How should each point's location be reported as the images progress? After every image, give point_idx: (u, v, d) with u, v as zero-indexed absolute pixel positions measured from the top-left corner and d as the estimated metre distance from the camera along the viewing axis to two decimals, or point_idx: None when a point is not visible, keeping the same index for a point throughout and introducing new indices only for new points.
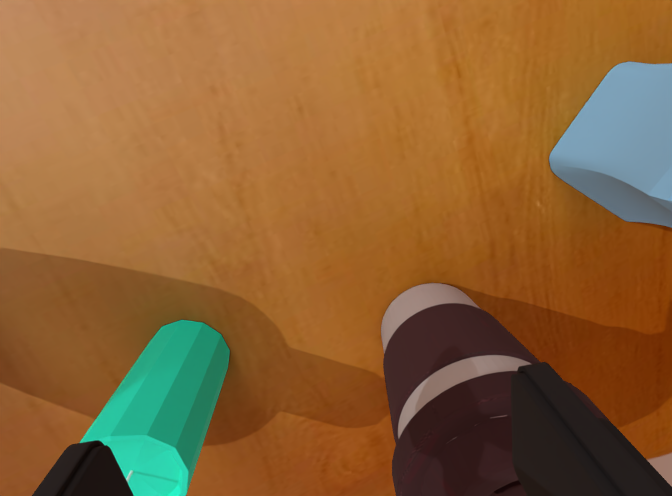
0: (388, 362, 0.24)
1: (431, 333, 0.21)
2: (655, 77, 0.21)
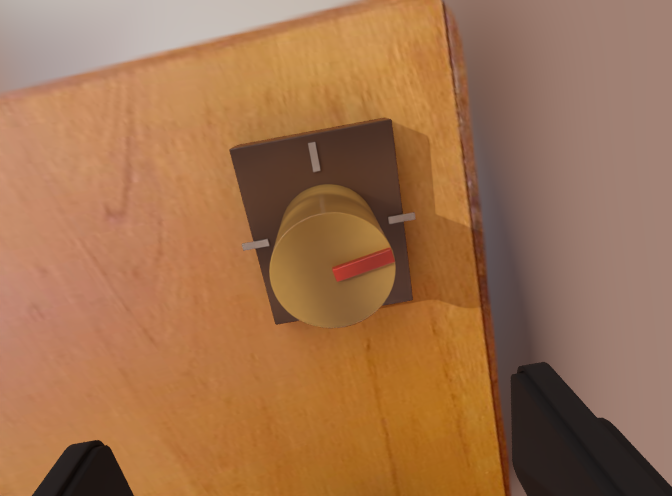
0: None
1: None
2: None
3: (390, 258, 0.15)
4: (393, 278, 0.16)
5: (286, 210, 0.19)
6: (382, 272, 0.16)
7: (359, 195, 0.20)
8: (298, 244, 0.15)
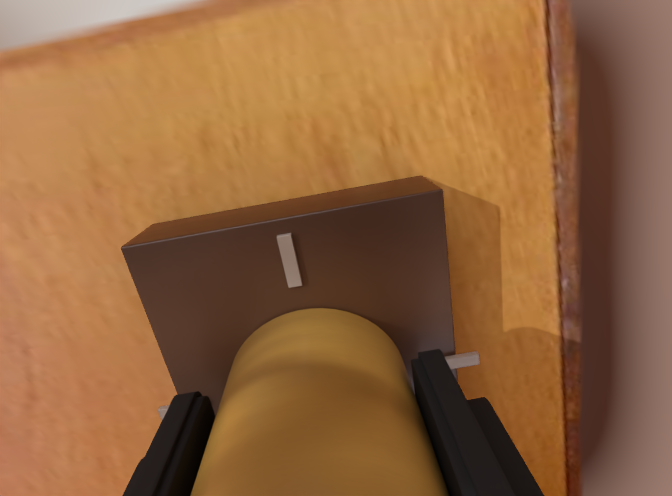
0: None
1: None
2: None
3: None
4: None
5: (235, 364, 0.10)
6: None
7: (377, 327, 0.10)
8: None
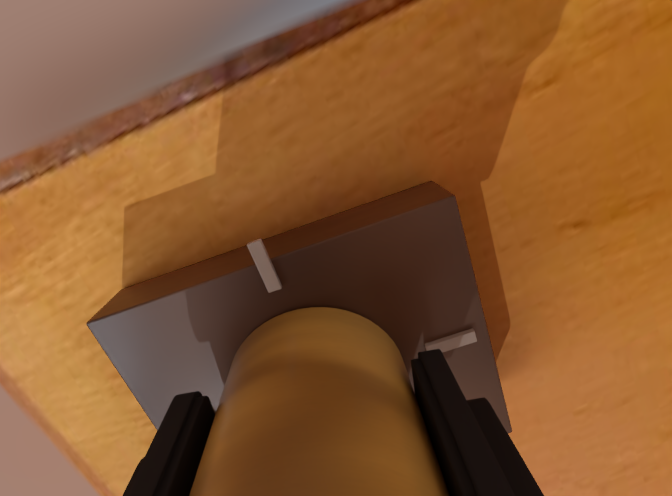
0: None
1: None
2: None
3: None
4: None
5: (235, 362, 0.10)
6: None
7: (378, 327, 0.10)
8: None
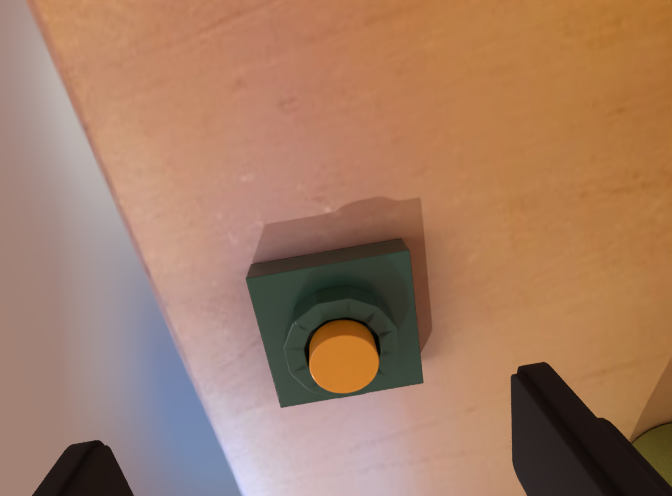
0: None
1: None
2: None
3: None
4: None
5: None
6: None
7: None
8: None
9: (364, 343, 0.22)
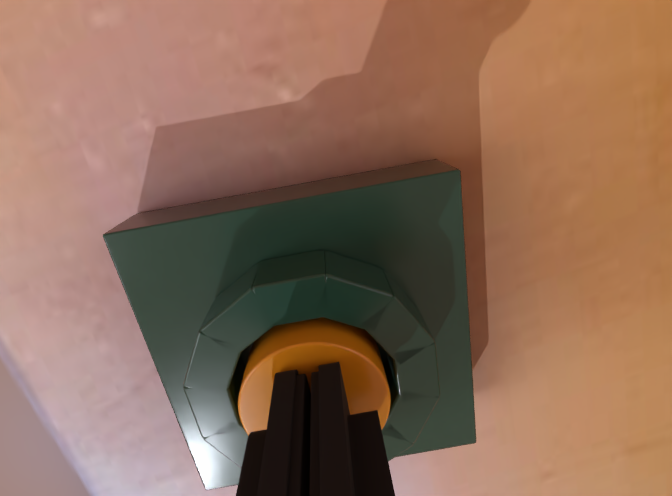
0: None
1: None
2: None
3: None
4: None
5: None
6: None
7: None
8: None
9: (357, 361, 0.10)
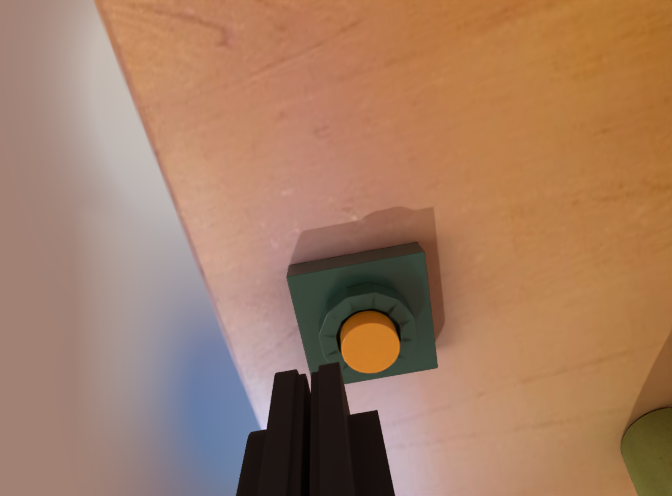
0: None
1: None
2: None
3: None
4: None
5: None
6: None
7: None
8: None
9: (387, 330, 0.26)
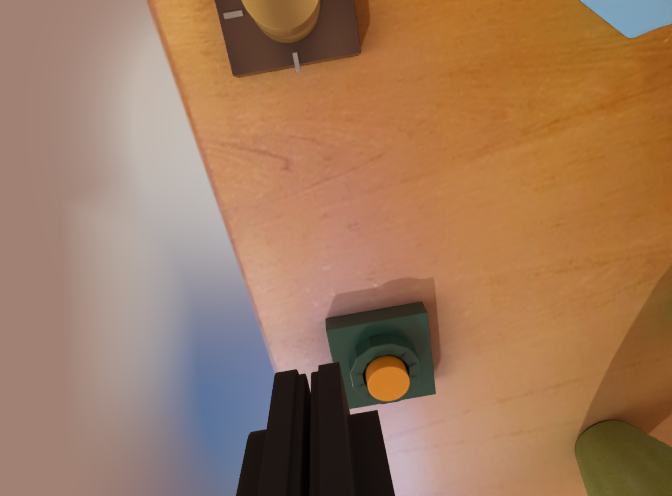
0: None
1: None
2: None
3: None
4: None
5: None
6: None
7: None
8: None
9: (401, 371, 0.36)
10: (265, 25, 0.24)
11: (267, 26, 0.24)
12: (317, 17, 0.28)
